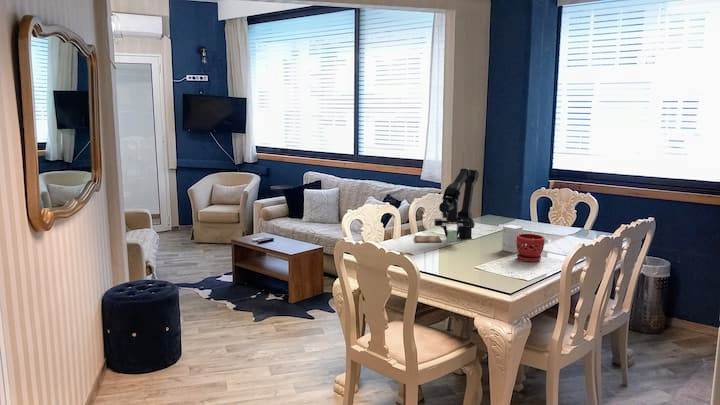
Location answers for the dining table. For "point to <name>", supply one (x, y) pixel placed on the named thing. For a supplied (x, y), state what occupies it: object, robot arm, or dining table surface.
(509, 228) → the small box
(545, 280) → the dining table surface
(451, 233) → the green cube
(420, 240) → the walnut board
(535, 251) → the plant pot
